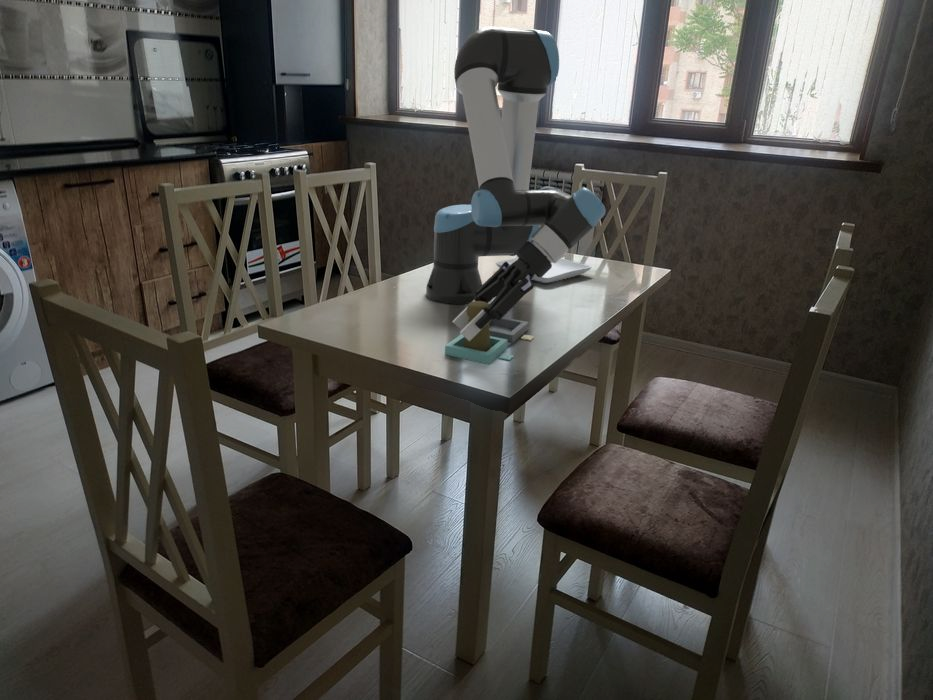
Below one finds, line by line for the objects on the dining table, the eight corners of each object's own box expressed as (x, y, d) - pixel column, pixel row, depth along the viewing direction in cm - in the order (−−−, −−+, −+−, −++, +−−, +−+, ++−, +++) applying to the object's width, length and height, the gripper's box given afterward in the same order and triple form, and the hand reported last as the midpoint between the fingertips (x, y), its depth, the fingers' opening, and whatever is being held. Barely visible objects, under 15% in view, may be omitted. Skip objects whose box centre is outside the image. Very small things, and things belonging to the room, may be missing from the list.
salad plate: (492, 272, 201) (493, 261, 199) (539, 262, 214) (540, 251, 213) (545, 289, 186) (546, 277, 185) (592, 277, 200) (593, 266, 199)
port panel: (444, 354, 138) (445, 345, 138) (488, 322, 158) (488, 314, 157) (502, 367, 134) (503, 358, 133) (540, 332, 153) (540, 324, 152)
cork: (484, 345, 145) (487, 297, 140) (495, 355, 139) (498, 306, 135) (458, 348, 142) (460, 299, 138) (469, 358, 137) (471, 308, 133)
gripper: (569, 277, 129) (484, 359, 132) (536, 253, 146) (461, 326, 148) (546, 251, 126) (460, 336, 128) (515, 229, 143) (438, 305, 145)
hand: (460, 331), depth 138 cm, fingers open, 6 cm apart
